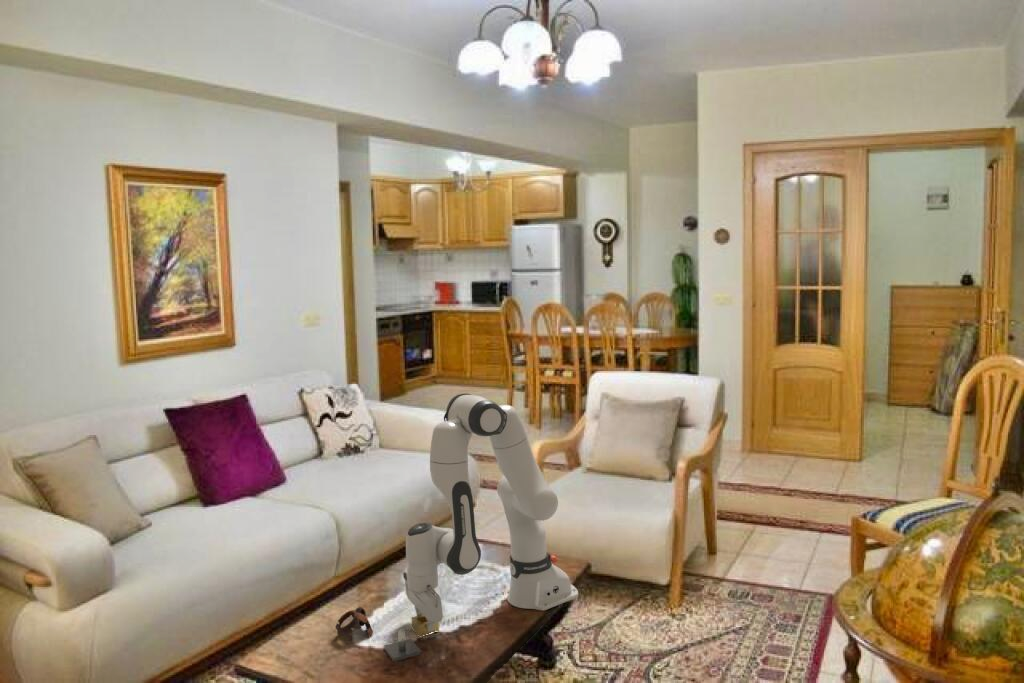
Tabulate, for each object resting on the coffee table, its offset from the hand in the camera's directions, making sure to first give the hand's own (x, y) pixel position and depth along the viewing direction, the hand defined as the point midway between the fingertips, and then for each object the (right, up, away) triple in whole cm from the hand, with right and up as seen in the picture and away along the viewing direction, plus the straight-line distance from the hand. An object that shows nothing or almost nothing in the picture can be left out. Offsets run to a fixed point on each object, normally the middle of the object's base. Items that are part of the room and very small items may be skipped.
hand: (425, 624), depth 240 cm
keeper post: (-5, -4, -11) cm, 13 cm away
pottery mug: (-20, -3, 0) cm, 20 cm away
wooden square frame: (0, -2, 0) cm, 2 cm away
